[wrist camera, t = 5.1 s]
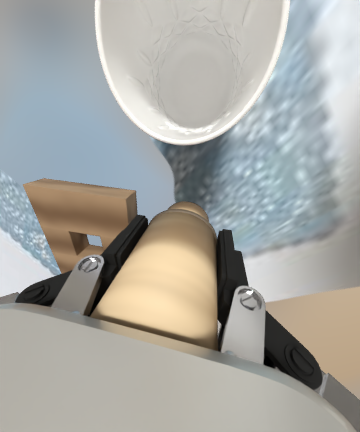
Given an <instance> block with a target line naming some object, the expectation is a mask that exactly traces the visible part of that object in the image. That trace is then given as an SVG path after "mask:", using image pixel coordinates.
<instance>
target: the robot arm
mask: <svg viewBox="0 0 360 432" xmlns="http://www.w3.org/2000/svg"><path fill="white" fill-rule="evenodd" d="M147 227H148V219H147V218H145V216H142V215H136V216H135V218H134V219H133V220H132V221H131V222H130V223H129V225H128V226H127V227H126V228H125V229H124V230H122V231H121V232H120V233H119V234H118V235H117V237H116V238H115V239H114V240H113V241H112V242H111V243H110V245H109V246H108V247H107V248H106V249H105V250H104V252H103V253H102V254H101V255H89V256H86V257H84V258H82V259H81V260H80V261H78V263H77V264H76V265H75V267H74V269H73V270H71V271H68V272H65V273H62V274H60V275H57V276H54V277H51V278H48V279H46V280H43V281H40V282H37V283H35V284H33V285H30V286H29V287H27V288H26V289H25V290H23V291H22V292H21V293H20V294H19V293H18V292H16V293H13V294H10V295H6V296H3V297H0V432H360V400H359V399H358V398H357V397H356V396H354V395H353V394H352V393H351V392H350V391H349V390H347V389H346V388H345V387H344V386H343V385H342V384H341V383H340V382H338V381H337V380H336V379H335V378H334V377H332V375H330V374H329V373H328V374H325V373H324V372H323V371H322V370H321V369H320V367H319V364H318V363H317V361H316V360H315V358H314V357H313V355H312V354H311V353H310V352H309V351H308V350H307V349H306V348H305V347H304V346H303V345H302V344H301V343H299V341H298V340H297V339H296V338H295V337H293V336H292V335H291V334H290V333H289V332H288V331H287V330H286V329H285V328H284V327H283V326H282V325H281V324H280V323H279V322H278V321H277V320H275V319H274V318H273V317H272V316H271V315H270V314H269V313H268V312H267V311H266V306H265V301H264V299H263V297H262V296H261V294H260V293H259V292H257V291H256V290H255V289H253V288H251V287H249V286H248V281H247V276H246V272H245V267H244V262H243V257H242V253H241V251H236V250H235V249H234V243H233V237H232V231H231V230H226V229H223V230H222V231H219V234H218V238H217V246H216V254H217V319H218V321H219V322H220V323H221V326H220V330H219V333H218V351H215V350H211V349H208V348H204V347H200V346H196V345H193V344H189V343H185V342H182V341H178V340H174V339H171V338H167V337H163V336H159V335H156V334H152V333H148V332H144V331H141V330H137V329H133V328H129V327H126V326H122V325H118V324H114V323H110V322H107V321H103V320H99V319H95V318H91V317H90V316H91V314H92V313H93V311H94V310H95V308H96V307H97V305H98V303H99V302H100V300H101V299H102V297H103V296H104V294H105V293H106V291H107V289H108V288H109V286H110V285H111V283H112V282H113V280H114V279H115V277H116V276H117V274H118V272H119V271H120V269H121V268H122V266H123V265H124V263H125V262H126V260H127V258H128V257H129V255H130V254H131V252H132V251H133V249H134V248H135V246H136V245H137V243H138V241H139V240H140V238H141V237H142V235H143V234H144V232H145V231H146V229H147Z"/></svg>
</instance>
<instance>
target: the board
mask: <svg viewBox="0 0 360 432" xmlns="http://www.w3.org/2000/svg"><path fill="white" fill-rule="evenodd" d="M23 186H24V189H25V191H26V193H27V196H28V198H29V200H30V202H31V205H32V207H33V209H34V212H35V214H36V216H37V218H38V221H39V223H40V225H41V228H42V230H43V232H44V234H45V237H46V239H47V241H48V244H49V246H50V248H51V250H52V253H53V255H54V257H55V260H56V262H57V264H58V266H59V269H60V271H61V273H65V272H68V271H71V270H73V269H74V267H75V265H76V264H77V263H78V261H80V260H81V259H82V258H84V257H86V256H89V255H101V254H102V253H103V252H104V250H105V249H106V248H107V247H108V246H109V245H110V243H111V242H112V241H113V240H114V239H115V238H116V237H117V235H118V234H119V233H120V232H121V231H122V230H124V229H125V228H126V227H127V226H128V225H129V223H130V222H131V221H132V220H133V219H134V218H135V216H136V215H137V203H136V202H137V201H136V191H135V190H127V189H119V188H112V187H104V186H97V185H90V184H82V183H75V182H67V181H60V180H52V179H45V178H44V179H40V180H37V181H34V182H30V183H26V184H23ZM87 234H89V235H95V236H100V237H101V241H102V246H103V247H100V246H95V245H89V242H88V239H87Z"/></svg>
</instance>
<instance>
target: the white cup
mask: <svg viewBox="0 0 360 432" xmlns="http://www.w3.org/2000/svg"><path fill="white" fill-rule="evenodd" d="M289 7H290V0H95V28H96V38H97V45H98V51H99V56H100V60H101V64H102V67H103V71H104V74H105V76H106V80H107V82H108V85H109V87H110V89H111V91H112V93H113V95H114V97H115V99H116V101H117V102H118V104H119V106H120V107H121V108H122V110H123V111H124V112H125V114H126V115H127V116H128V118H129V119H130V120H131V121H132V122H133V123H134V124H135V125H136V126H137V127H139V128H140V129H141V130H142V131H144V132H145V133H146V134H148V135H149V136H151V137H153V138H155V139H157V140H159V141H162V142H165V143H168V144H173V145H195V144H200V143H203V142H206V141H209V140H212V139H214V138H216V137H218V136H220V135H221V134H223V133H225V132H226V131H228V130H229V129H230V128H232V127H233V126H234V125H235V124H236V123H238V122H239V121H240V120H241V119H242V118H243V117H244V116H245V115H246V114H247V112H248V111H249V110H250V109H251V108H252V106H253V105H254V104H255V102H256V101H257V100H258V98H259V97H260V95H261V93H262V92H263V90H264V88H265V87H266V85H267V83H268V81H269V79H270V77H271V75H272V73H273V70H274V68H275V66H276V63H277V60H278V58H279V55H280V52H281V48H282V45H283V41H284V37H285V33H286V28H287V22H288V16H289Z"/></svg>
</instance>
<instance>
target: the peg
mask: <svg viewBox="0 0 360 432" xmlns="http://www.w3.org/2000/svg"><path fill="white" fill-rule="evenodd" d="M216 246H217V236H216V233H215V230H214V229H213V227H212V226H211V224H210V223H209V220H208V216H207V214H206V212H205V211H204V210H203V209H202V208H201V207H200V206H198V205H197V204H195V203H192V202H178V203H175V204H173V205H172V206H170V207H169V208H168V210H166V211H163V212H161V213H159V214H157V215H156V216H155V217H154V218H153V219H152V220H151V222H150V223H149V225H148V227H147V229H146V231H145V232H144V234H143V235H142V237H141V238H140V240H139V241H138V243H137V245H136V246H135V248H134V249H133V251H132V252H131V254H130V255H129V257H128V258H127V260H126V262H125V263H124V265H123V266H122V268H121V269H120V271H119V272H118V274H117V276H116V277H115V279H114V280H113V282H112V283H111V285H110V286H109V288H108V289H107V291H106V293H105V294H104V296H103V297H102V299H101V300H100V302H99V303H98V305H97V307H96V308H95V310H94V311H93V313H92V314H91V316H90V317H91V318H95V319H99V320H103V321H107V322H110V323H114V324H118V325H122V326H126V327H129V328H133V329H137V330H141V331H144V332H148V333H152V334H156V335H159V336H163V337H167V338H171V339H174V340H178V341H182V342H185V343H189V344H193V345H196V346H200V347H204V348H208V349H211V350H215V351H218V329H217V328H218V325H217V254H216Z"/></svg>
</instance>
